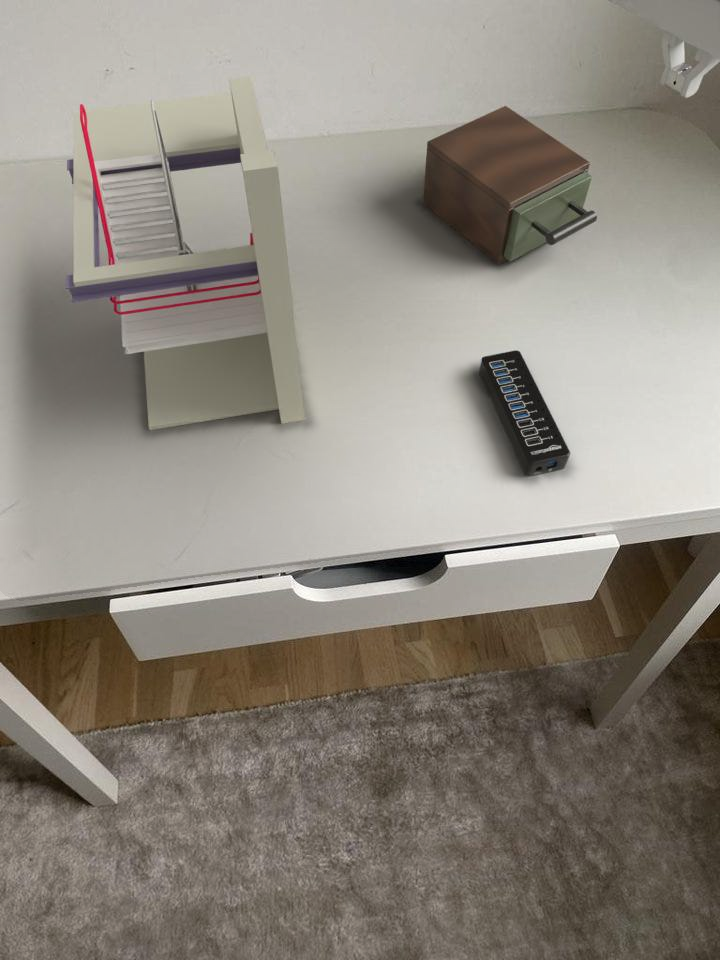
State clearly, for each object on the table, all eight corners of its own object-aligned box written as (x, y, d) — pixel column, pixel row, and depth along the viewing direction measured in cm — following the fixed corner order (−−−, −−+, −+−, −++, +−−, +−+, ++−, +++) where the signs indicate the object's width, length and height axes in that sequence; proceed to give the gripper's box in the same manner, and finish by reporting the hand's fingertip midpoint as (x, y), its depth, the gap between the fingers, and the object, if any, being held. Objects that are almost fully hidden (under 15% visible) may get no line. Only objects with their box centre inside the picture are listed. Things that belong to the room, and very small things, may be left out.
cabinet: (573, 223, 97) (590, 162, 90) (498, 264, 93) (510, 203, 86) (495, 167, 104) (505, 105, 96) (422, 203, 100) (427, 141, 92)
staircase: (121, 269, 93) (30, 7, 68) (269, 248, 95) (234, -14, 70) (129, 448, 78) (18, 199, 53) (304, 419, 80) (277, 166, 55)
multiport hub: (515, 363, 84) (519, 349, 82) (566, 468, 77) (572, 454, 75) (477, 371, 84) (480, 356, 82) (525, 477, 76) (529, 464, 74)
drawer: (601, 241, 94) (616, 193, 88) (532, 280, 90) (543, 232, 84) (505, 171, 102) (513, 122, 96) (438, 204, 98) (442, 156, 92)
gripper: (889, -51, 54) (796, 131, 65) (666, -142, 63) (619, 32, 74) (835, -26, 52) (749, 157, 63) (613, -123, 61) (573, 53, 72)
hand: (677, 89), depth 69 cm, fingers closed
